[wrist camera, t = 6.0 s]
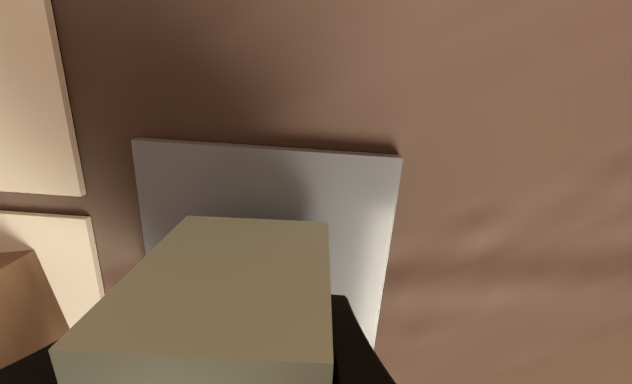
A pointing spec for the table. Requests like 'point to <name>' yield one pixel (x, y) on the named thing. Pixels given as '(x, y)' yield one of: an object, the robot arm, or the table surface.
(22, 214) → the plain tile
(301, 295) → the sage block
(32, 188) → the tile
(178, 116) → the table surface
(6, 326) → the walnut block
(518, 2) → the table surface
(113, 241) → the table surface
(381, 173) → the light grey square plate
